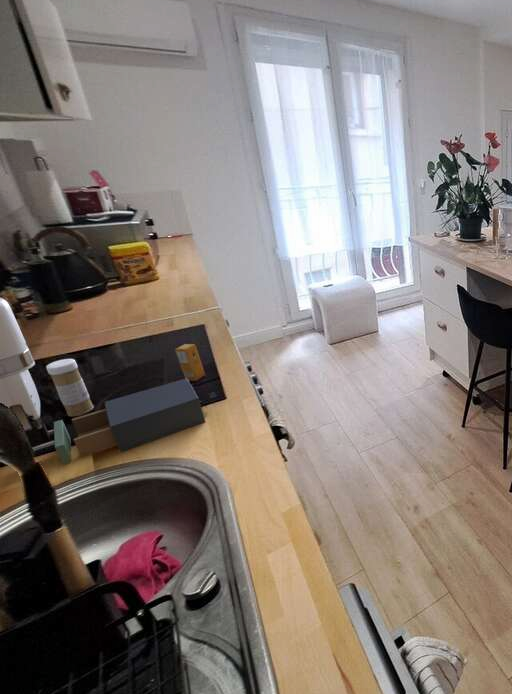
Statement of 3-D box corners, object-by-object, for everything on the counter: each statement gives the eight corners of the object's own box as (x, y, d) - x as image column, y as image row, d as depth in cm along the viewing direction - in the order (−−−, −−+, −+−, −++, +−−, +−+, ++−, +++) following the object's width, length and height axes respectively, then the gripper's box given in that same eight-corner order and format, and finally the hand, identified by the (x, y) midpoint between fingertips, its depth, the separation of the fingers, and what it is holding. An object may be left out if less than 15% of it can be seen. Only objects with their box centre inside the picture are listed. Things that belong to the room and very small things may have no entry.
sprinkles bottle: (78, 407, 100) (57, 358, 95) (100, 405, 101) (80, 357, 96) (61, 418, 96) (39, 368, 91) (84, 417, 97) (62, 367, 92)
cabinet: (120, 452, 86) (110, 426, 84) (114, 426, 94) (104, 401, 92) (205, 421, 96) (198, 398, 94) (193, 400, 104) (186, 378, 102)
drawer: (24, 481, 77) (13, 460, 75) (25, 452, 84) (15, 432, 82) (154, 435, 90) (147, 416, 88) (146, 413, 97) (139, 396, 95)
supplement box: (193, 375, 115) (184, 343, 112) (205, 375, 115) (196, 343, 112) (184, 381, 112) (174, 348, 109) (196, 381, 112) (186, 349, 109)
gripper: (-29, 356, 77) (11, 436, 83) (-38, 386, 68) (7, 474, 74) (32, 344, 82) (65, 420, 89) (31, 370, 73) (68, 453, 79)
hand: (39, 444), depth 81 cm, fingers closed
